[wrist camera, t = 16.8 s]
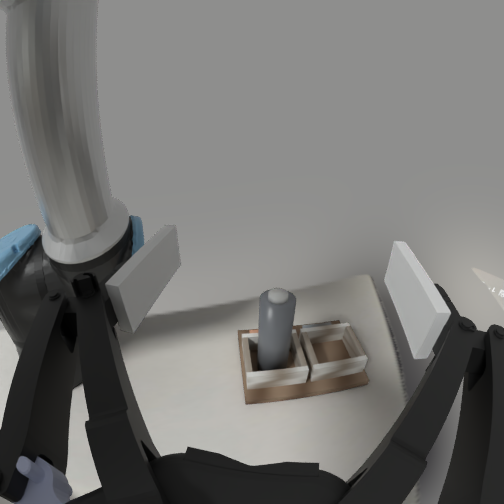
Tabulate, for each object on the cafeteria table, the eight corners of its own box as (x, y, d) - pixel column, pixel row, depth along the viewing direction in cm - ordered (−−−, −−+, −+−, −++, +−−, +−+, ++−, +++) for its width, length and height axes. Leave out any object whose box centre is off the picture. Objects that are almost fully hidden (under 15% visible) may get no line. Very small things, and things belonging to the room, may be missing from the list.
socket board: (245, 404, 33) (245, 389, 31) (237, 334, 45) (237, 317, 43) (367, 384, 35) (375, 368, 33) (338, 324, 47) (342, 307, 45)
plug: (257, 376, 36) (261, 304, 31) (256, 354, 40) (258, 283, 35) (288, 374, 36) (299, 303, 31) (285, 353, 40) (293, 283, 35)
